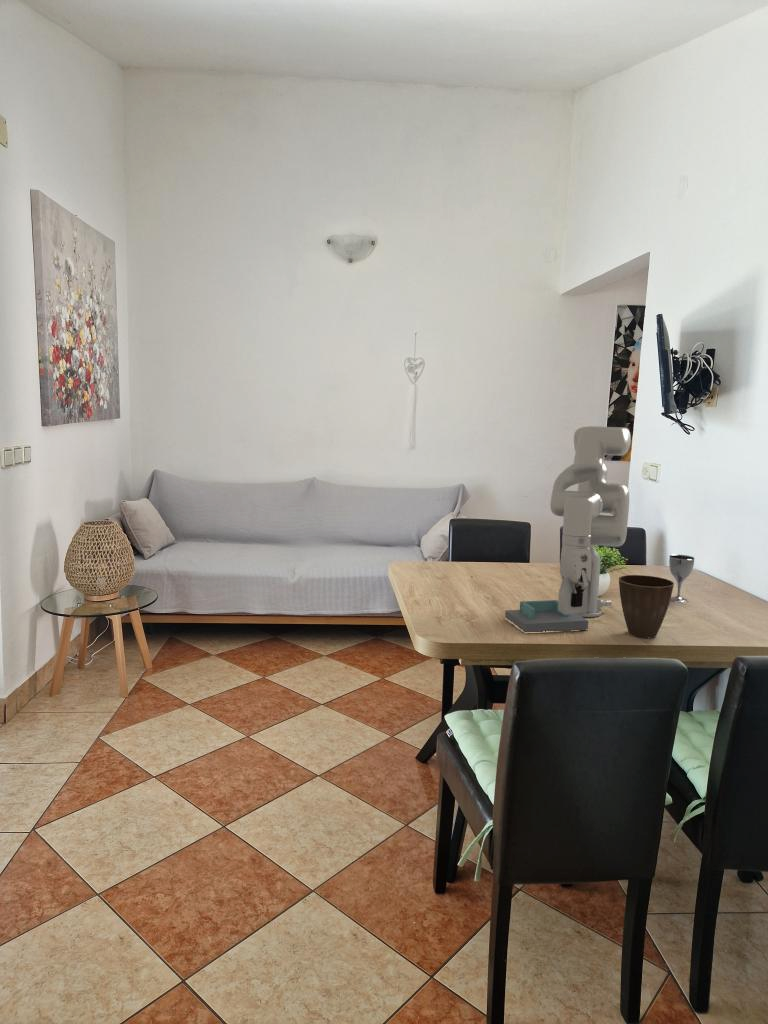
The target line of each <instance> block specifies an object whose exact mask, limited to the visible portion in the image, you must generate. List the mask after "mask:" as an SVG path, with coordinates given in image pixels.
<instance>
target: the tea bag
mask: <svg viewBox="0 0 768 1024" xmlns="http://www.w3.org/2000/svg"><path fill="white" fill-rule="evenodd" d="M578 581H579V582H581V581H580V580H578ZM578 586H580V584H577V587H578ZM572 593H573V582H572V581H570V580H568V578H567V577H566V578H563V580H562V579H561V584H560V586H559V589H558V599H557V601H558V611H560V612H561V613H563V614H575V613H586V605H587V588H586V589H585V590H584V593H583V600H582V606H581V607H572V606H571V595H572Z"/></svg>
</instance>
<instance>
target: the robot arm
mask: <svg viewBox="0 0 768 1024" xmlns="http://www.w3.org/2000/svg"><path fill="white" fill-rule="evenodd" d="M631 438H632V437H631V432H630V430H629V428H627V427H623V426H622V427H621V426H619V427H617V426H597V425H596V426H595V425H594V426H592V425H591V426H582V427H579V428H577V429H576V430H575V432H574V435H573V446H574V448H573V449H574V452H575V453H574V457H573V463H572V464H570V465H569V466H567V467H566V468H565V469H564V470H562V472H560V473H559V474H558V475H557V477H556V478H555V480H554V483H553V487H552V491H551V497H550V502H549V504H550V506H549V507H550V511H551V513H552V514H553V515H554V516H558V517H563V518H562V519H563V521H562V522H563V524H562V536H561V537H562V539H561V553H560V563H559V573H560V576H561V578H562V579H561V581H562V580H563V578H566V577H567V578H568V580H570V581H572V582H573V593H572V595H571V606H572V607H581V606H582V600H583V593H584V590H585V589H586V588H587V605H586V613H576V614H578V615H579V616H581V617H583V618H595V617H600V616H602V615H603V609H602V608H604V607H612V603H613V602H612V600H610V599H606V600H604V598H603V599H602V598H599V589H600V588H599V587H600V575H601V573H600V572H601V557H600V554H599V553H598V551H597V550H596V549H595V546H601V547H613V548H617V547H622V546H623V545H624V544H625V542H626V540H627V533H628V523H629V522H628V520H629V512H630V511H629V509H630V491H629V489H628V487H627V486H626V485H624V484H622V483H613V482H607V477H608V469H607V466H606V464H605V463H604V461H605V459H604V458H605V456H615V457H616V456H617V457H620V456H625V455H626V454H627V453H628V452H629V450H630V447H631V442H632V439H631ZM577 484H578V486H577V490H567V489H568V488H570V487H572V486H574V485H577ZM605 514H610V515H605ZM578 580H580V581H581V582H579V581H578ZM577 584H580V586H578V587H577Z"/></svg>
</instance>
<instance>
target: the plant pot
mask: <svg viewBox="0 0 768 1024" xmlns="http://www.w3.org/2000/svg"><path fill="white" fill-rule="evenodd" d="M674 583H675V582H673V580H669V579H668V578H665V577H664V578H663V577H659V576H653V575H652V576H651V575H645V574H644V575H641V574H629V575H622V576H619V578H618V585H619V586H618V587H619V597H620V602H621V603H620V604H621V608H622V613H623V617H624V622H625V625H626V627H627V628H626V629H627V631H628V633H630V634H629V635H631V634H632V635H634V636H633V637H635V636H637V637H636V638H640V637H647V638H646V639H649V638H648V637H653V638H655V637H654V636H656V637H657V634H658V633H659V631H660V630H661V627H662V624H663V623H664V620H665V617H666V614H667V611H668V608H669V605H670V603H671V600H670V599H671V597H672V594H673V590H674V585H675V584H674ZM632 635H631V636H632Z"/></svg>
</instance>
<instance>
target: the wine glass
mask: <svg viewBox="0 0 768 1024" xmlns="http://www.w3.org/2000/svg"><path fill="white" fill-rule="evenodd" d="M668 559H669V560H668V567H669V572H670V574H671V575H672V576H673V578H674V579H675V581H676V583H677V595H675V596H671V599H670V601H671V600H672V602H675V601H680V602H679V603H685V602H684V601H687V599H688V598H686V597H683V596H681V588H682V584H683V582H685V580H686V579H687V578H688V577H689V576H690V575H691V574H692V572H693V569H694V565H695V557H694V556H692V555H691V556H690V555H685V554H670V555H669V558H668Z"/></svg>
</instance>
